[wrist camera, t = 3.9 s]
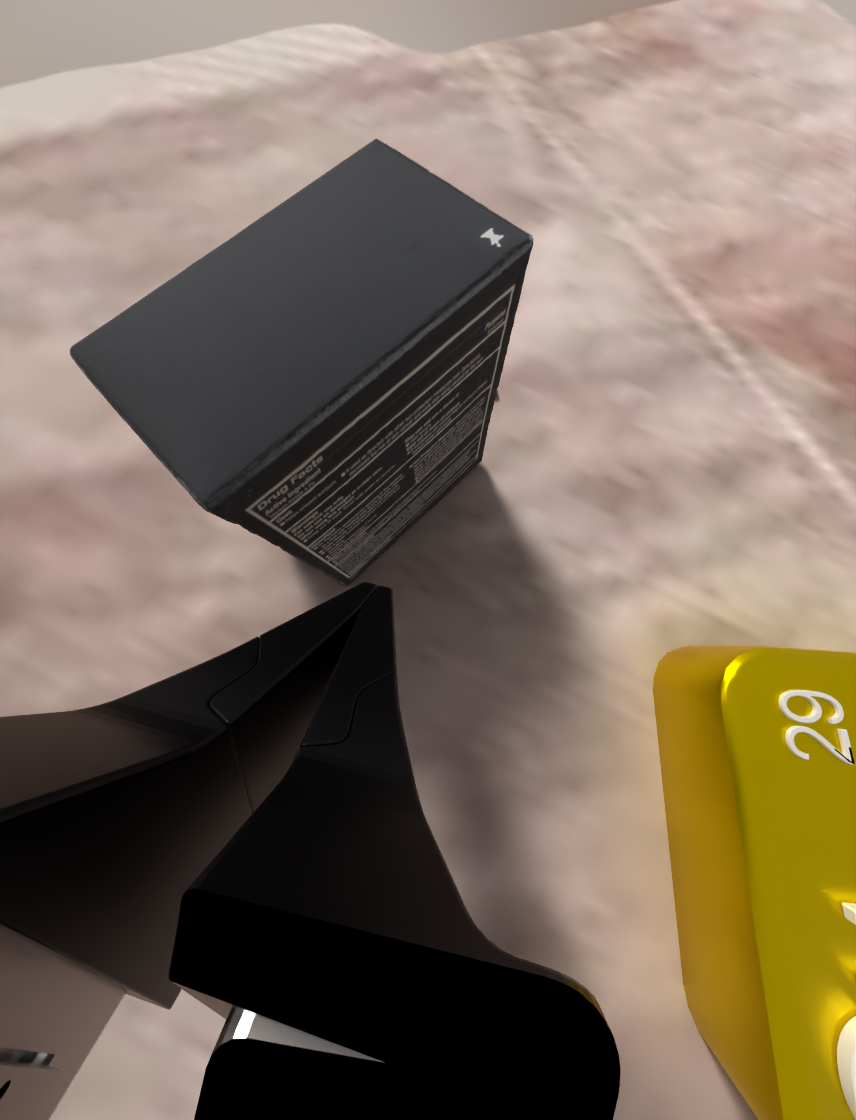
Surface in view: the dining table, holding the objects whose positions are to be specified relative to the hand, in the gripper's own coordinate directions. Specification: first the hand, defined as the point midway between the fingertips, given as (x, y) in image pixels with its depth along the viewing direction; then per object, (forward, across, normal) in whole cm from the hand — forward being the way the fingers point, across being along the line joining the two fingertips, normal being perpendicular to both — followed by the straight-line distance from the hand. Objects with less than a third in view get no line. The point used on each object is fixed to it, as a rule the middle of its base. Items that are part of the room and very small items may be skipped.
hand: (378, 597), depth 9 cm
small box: (+10, +3, 0) cm, 10 cm away
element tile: (+2, -21, +9) cm, 22 cm away
